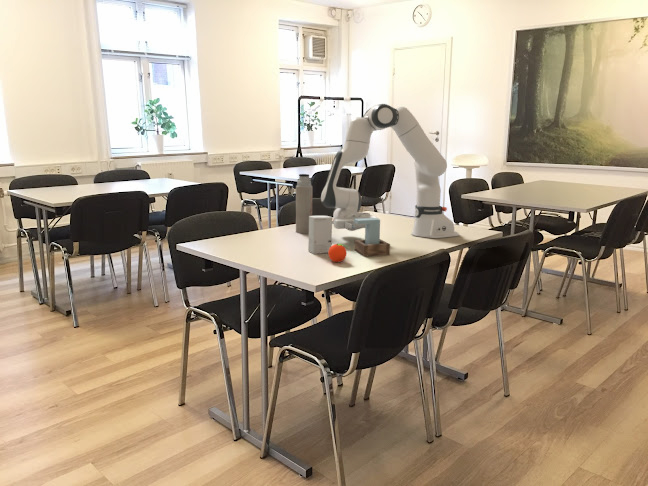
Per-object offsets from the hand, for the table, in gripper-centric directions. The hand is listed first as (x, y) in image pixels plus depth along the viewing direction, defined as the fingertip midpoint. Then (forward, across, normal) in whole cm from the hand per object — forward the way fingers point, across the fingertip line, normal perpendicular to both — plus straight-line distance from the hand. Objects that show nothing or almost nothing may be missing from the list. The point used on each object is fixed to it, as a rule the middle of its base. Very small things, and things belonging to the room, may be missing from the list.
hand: (362, 226), depth 228 cm
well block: (+11, 0, +9) cm, 14 cm away
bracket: (+11, -3, +8) cm, 14 cm away
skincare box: (+4, -20, +9) cm, 23 cm away
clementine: (+22, -18, +9) cm, 30 cm away
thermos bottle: (-40, -15, +9) cm, 44 cm away
